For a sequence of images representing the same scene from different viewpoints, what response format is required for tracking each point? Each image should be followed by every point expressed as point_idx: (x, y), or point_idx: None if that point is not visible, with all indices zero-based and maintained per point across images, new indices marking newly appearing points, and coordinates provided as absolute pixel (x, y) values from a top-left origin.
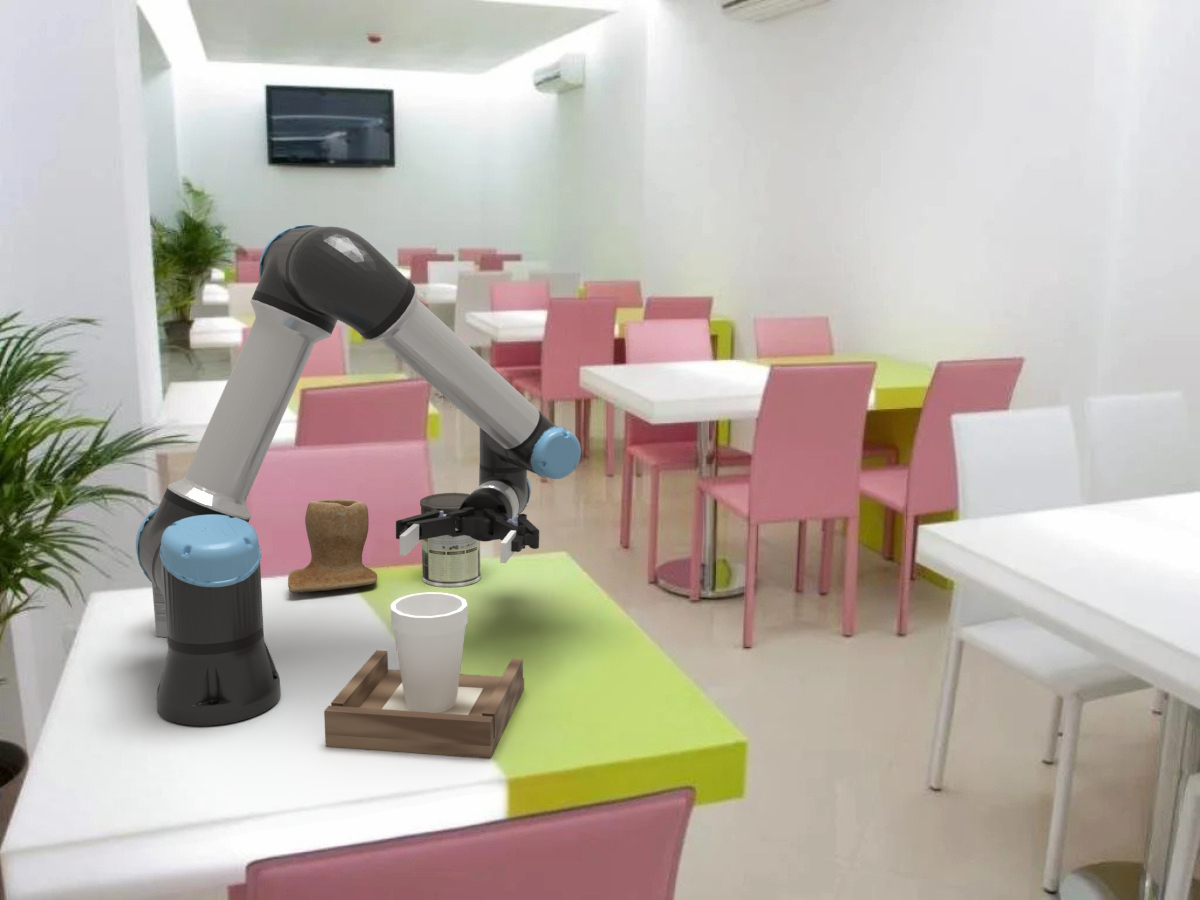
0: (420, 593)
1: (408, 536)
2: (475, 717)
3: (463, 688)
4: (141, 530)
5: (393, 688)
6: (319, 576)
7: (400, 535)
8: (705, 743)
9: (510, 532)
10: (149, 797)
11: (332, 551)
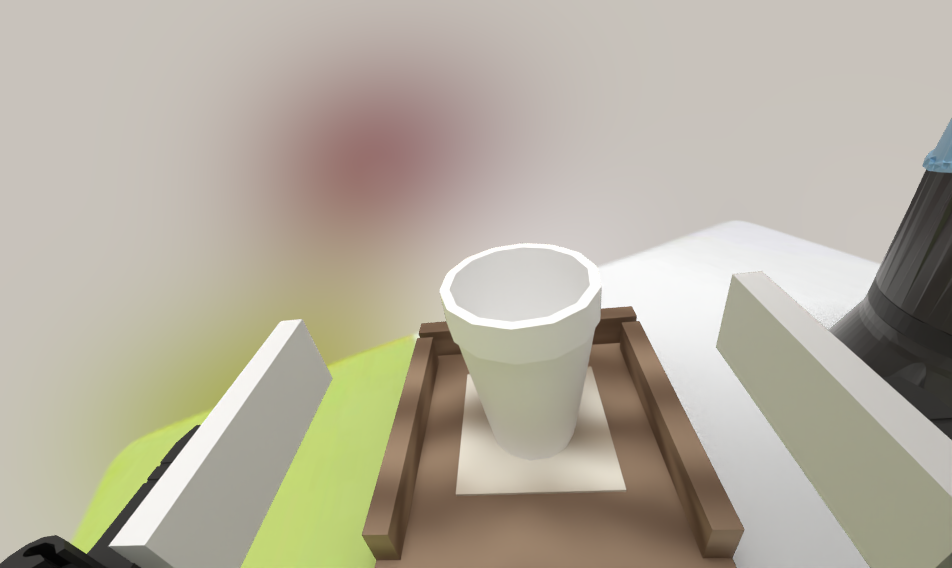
0: (565, 314)
1: (760, 320)
2: (439, 328)
3: (493, 486)
4: None
5: (629, 469)
6: None
7: (766, 277)
8: (166, 431)
9: (179, 484)
10: (714, 260)
11: None
